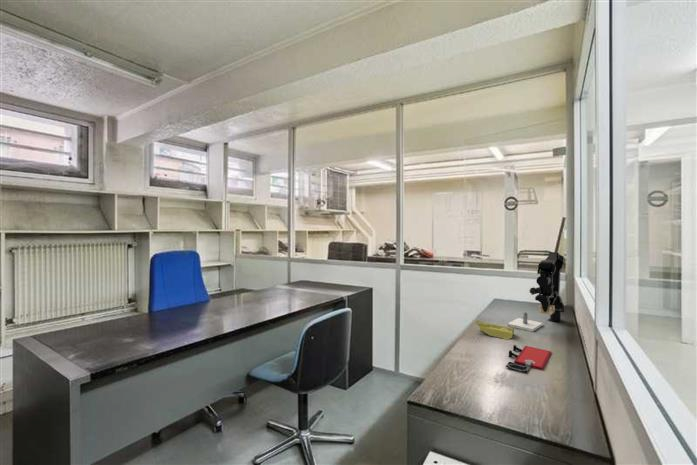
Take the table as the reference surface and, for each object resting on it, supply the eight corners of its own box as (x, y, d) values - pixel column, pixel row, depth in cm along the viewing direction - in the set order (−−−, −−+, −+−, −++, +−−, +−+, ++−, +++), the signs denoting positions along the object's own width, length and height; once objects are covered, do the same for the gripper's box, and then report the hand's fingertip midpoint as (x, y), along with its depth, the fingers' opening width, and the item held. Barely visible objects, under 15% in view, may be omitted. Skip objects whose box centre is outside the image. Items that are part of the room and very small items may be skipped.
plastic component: (514, 329, 188) (513, 326, 180) (513, 342, 186) (511, 340, 178) (477, 321, 198) (474, 318, 190) (475, 334, 196) (472, 331, 188)
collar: (543, 310, 195) (543, 303, 195) (554, 312, 191) (554, 305, 190) (539, 312, 191) (539, 305, 191) (551, 314, 187) (551, 307, 186)
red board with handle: (500, 367, 146) (539, 377, 137) (500, 361, 146) (539, 371, 137) (517, 346, 170) (551, 354, 160) (517, 341, 170) (551, 348, 160)
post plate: (518, 320, 209) (518, 307, 209) (542, 325, 199) (542, 311, 198) (507, 326, 200) (507, 312, 199) (532, 331, 189) (532, 317, 189)
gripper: (537, 279, 202) (537, 305, 203) (525, 284, 190) (525, 311, 191) (558, 281, 194) (558, 308, 195) (547, 286, 182) (547, 315, 182)
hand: (546, 310), depth 191 cm, fingers closed on collar, 6 cm apart
